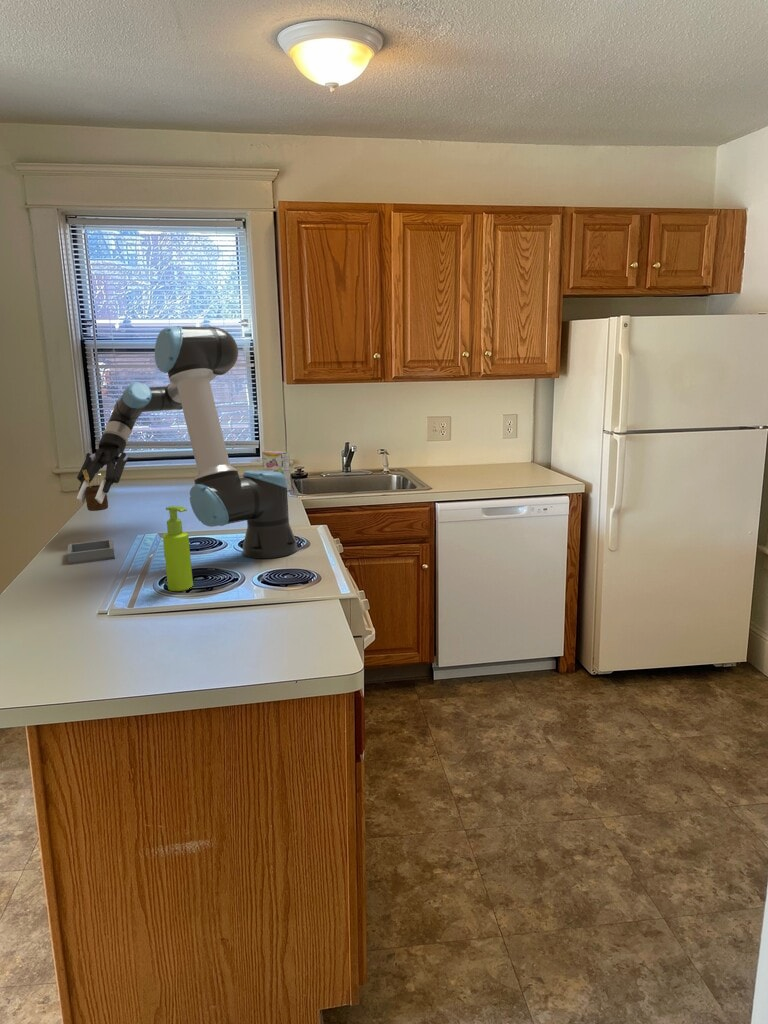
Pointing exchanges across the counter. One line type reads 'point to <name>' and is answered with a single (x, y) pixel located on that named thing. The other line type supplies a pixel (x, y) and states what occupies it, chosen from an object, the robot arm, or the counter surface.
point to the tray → (90, 551)
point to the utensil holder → (94, 495)
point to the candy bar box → (277, 464)
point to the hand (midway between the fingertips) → (89, 500)
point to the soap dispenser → (177, 553)
